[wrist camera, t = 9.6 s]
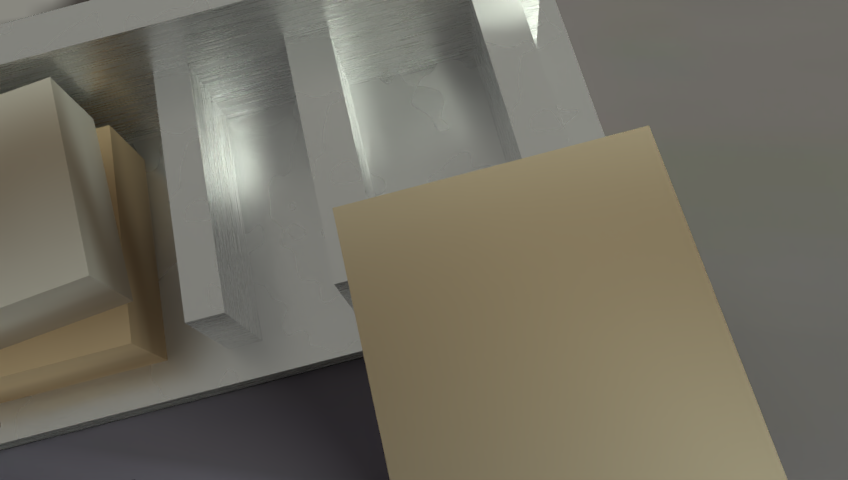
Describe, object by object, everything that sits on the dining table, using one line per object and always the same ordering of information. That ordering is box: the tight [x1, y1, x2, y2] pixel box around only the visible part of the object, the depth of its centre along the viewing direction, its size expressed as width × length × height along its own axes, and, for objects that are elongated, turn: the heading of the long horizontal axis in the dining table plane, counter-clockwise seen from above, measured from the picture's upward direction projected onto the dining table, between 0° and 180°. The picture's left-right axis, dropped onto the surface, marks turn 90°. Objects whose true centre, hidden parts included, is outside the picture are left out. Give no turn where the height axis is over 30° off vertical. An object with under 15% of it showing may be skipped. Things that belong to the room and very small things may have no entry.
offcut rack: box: [0, 0, 605, 450], centre depth 17 cm, size 8×18×5 cm, turn 103°
